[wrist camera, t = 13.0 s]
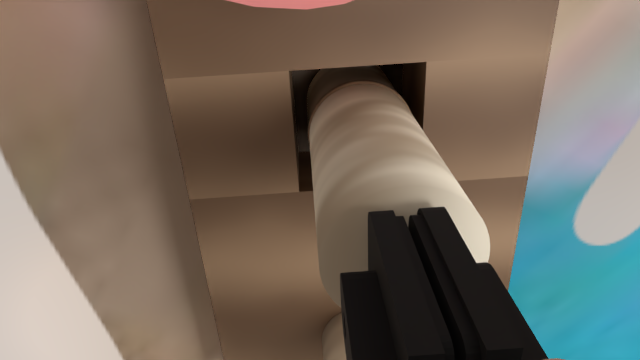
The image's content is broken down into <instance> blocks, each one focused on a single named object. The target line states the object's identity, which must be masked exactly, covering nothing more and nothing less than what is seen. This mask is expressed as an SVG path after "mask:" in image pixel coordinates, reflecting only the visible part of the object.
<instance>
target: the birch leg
mask: <svg viewBox="0 0 640 360" xmlns="http://www.w3.org/2000/svg"><path fill="white" fill-rule="evenodd" d="M307 114H308V142H309V147H310V155H311V168H312V181H313V195H314V208H315V222H316V235H317V248H318V262H319V271H320V277H321V280H322V283H323V286H324V288H325V290H326V292H327V293H328V295H329V296H330V297H331V299H332V300H333V301H334V302H335V303H336V304H337V305H338V306H339V307H341V294H340V273H345V272H359V271H368V212H373V211H387V210H393V211H394V213H395V215H396V216H404V218H405V221H406V223H407V226H408V225H409V216H410V215H417V211H418V209H419V208H429V207H445V208H446V210H447V211H448V213H449V215H450V217H451V218H452V220H453V222H454V224H455V226H456V227H457V229H458V231H459V233H460V235H461V236H462V238H463V240H464V242H465V244H466V245H467V247H468V249H469V251H470V252H471V254H472V256H473V258H474V260H475V261H476V263H483V262H487V263H488V260H489V256H490V238H489V234H488V230H487V227H486V225H485V223H484V221H483V219H482V217H481V216H480V215H479V213H478V212H477V210H476V209H475V207H474V206H473V204H472V203H471V201H470V200H469V198H468V197H467V195H466V194H465V192H464V191H463V189H462V188H461V186H460V185H459V183H458V182H457V180H456V179H455V177H454V176H453V174H452V173H451V171H450V170H449V168H448V167H447V166H446V164H445V163H444V161H443V160H442V158H441V157H440V155H439V154H438V152H437V151H436V149H435V148H434V146H433V145H432V143H431V142H430V140H429V139H428V137H427V136H426V134H425V133H424V131H423V130H422V128H421V127H420V125H419V124H418V122H417V121H416V119H415V118H414V117H413V115H412V113H411V111H410V109H409V107H408V105H407V104H406V102H405V101H404V99H403V98H402V97H401V96H400V95H399V93H398V92H397V91H396V90H395V88H394V87H393V85H392V84H391V82H390V81H389V79H388V78H387V76H386V75H385V74H384V72H383V71H382V70H381V69H380V68H379V67H378V66H376V65H371V66H355V67H340V68H325V69H321V70H320V71H319V72H318V73H317V74H316V75H315V77H314V78H313V80H312V82H311V84H310V86H309V89H308V93H307Z"/></svg>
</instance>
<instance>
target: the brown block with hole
mask: <svg viewBox="0 0 640 360" xmlns="http://www.w3.org/2000/svg"><path fill="white" fill-rule="evenodd" d="M146 1H147V6H148V11H149V15H150V20H151V24H152V29H153V34H154V38H155V43H156V48H157V52H158V57H159V61H160V66H161V71H162V75H163V80H164V85H165V89H166V94H167V98H168V103H169V108H170V112H171V117H172V122H173V126H174V131H175V135H176V140H177V145H178V149H179V154H180V159H181V163H182V168H183V172H184V177H185V182H186V186H187V191H188V196H189V200H190V205H191V210H192V214H193V219H194V223H195V228H196V233H197V237H198V242H199V247H200V251H201V256H202V260H203V265H204V270H205V274H206V279H207V284H208V288H209V293H210V297H211V302H212V307H213V311H214V316H215V321H216V325H217V330H218V334H219V339H220V344H221V348H222V353H223V358H224V360H346V352H345V343H344V335H343V324H342V312H341V307H339V306H338V305H337V304H336V303H335V302H334V301H333V300H332V299H331V297H330V296H329V295H328V293H327V292H326V290H325V288H324V286H323V283H322V280H321V277H320V271H319V262H318V248H317V235H316V222H315V208H314V195H313V181H312V168H311V155H310V151H308V152H299V150H298V138H297V126H296V114H295V102H294V90H293V78H292V71H295V70H310V69H325V68H340V67H355V66H371V65H386V64H401V63H403V80H402V98H403V99H404V101H405V102H406V104H407V105H408V107H409V109H410V111H411V113H412V115H413V117H414V118H415V119H416V121H417V122H418V124H419V125H420V127H421V128H422V130H423V131H424V133H425V134H426V136H427V137H428V139H429V140H430V142H431V143H432V145H433V146H434V148H435V149H436V151H437V152H438V154H439V155H440V157H441V158H442V160H443V161H444V163H445V164H446V166H447V167H448V168H449V170H450V171H451V173H452V174H453V176H454V177H455V179H456V180H457V182H458V183H459V185H460V186H461V188H462V189H463V191H464V192H465V194H466V195H467V197H468V198H469V200H470V201H471V203H472V204H473V206H474V207H475V209H476V210H477V212H478V213H479V215H480V216H481V217H482V219H483V221H484V223H485V225H486V227H487V230H488V234H489V238H490V256H489V260H488V263H489V264H491V265H492V267H493V268H494V269H495V271H496V273H497V274H498V276H499V278H500V279H501V281H502V283H503V284H504V286H505V288H506V289H507V291H508V287H509V282H510V276H511V270H512V265H513V259H514V253H515V248H516V242H517V236H518V231H519V225H520V219H521V214H522V208H523V202H524V197H525V191H526V185H527V180H528V174H529V168H530V163H531V157H532V151H533V146H534V140H535V134H536V129H537V123H538V118H539V112H540V106H541V101H542V95H543V89H544V84H545V78H546V72H547V67H548V61H549V55H550V50H551V44H552V38H553V33H554V27H555V21H556V16H557V10H558V4H559V0H353V1H351V2H348V3H346V4H341V5H334V6H327V7H320V8H314V9H307V10H306V9H286V8H267V7H253V6H249V5H244V4H240V3H235V2H231V1H227V0H146Z"/></svg>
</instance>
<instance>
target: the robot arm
mask: <svg viewBox="0 0 640 360" xmlns="http://www.w3.org/2000/svg"><path fill="white" fill-rule="evenodd" d="M340 294H341V312H342V324H343V335H344V343H345V352H346V360H564V359H558V358H555V359H548V357H547V356H546V354H545V352H544V351H543V349H542V347H541V346H540V344H539V342H538V341H537V339H536V337H535V336H534V334H533V332H532V331H531V329H530V327H529V326H528V324H527V322H526V321H525V319H524V317H523V316H522V314H521V312H520V311H519V309H518V307H517V306H516V304H515V303H514V301H513V299H512V298H511V296H510V294H509V293H508V291H507V289H506V288H505V286H504V284H503V283H502V281H501V279H500V278H499V276H498V274H497V273H496V271H495V269H494V268H493V267H492V265H491V264H489V263H487V262H483V263H476V261H475V260H474V258H473V256H472V254H471V252H470V251H469V249H468V247H467V245H466V244H465V242H464V240H463V238H462V236H461V235H460V233H459V231H458V229H457V227H456V226H455V224H454V222H453V220H452V218H451V217H450V215H449V213H448V211H447V210H446V208H445V207H429V208H419V209H418V211H417V215H410V216H409V225H408V226H407V223H406V221H405V218H404V216H396V215H395V213H394V211H393V210H387V211H373V212H368V271H359V272H345V273H340Z"/></svg>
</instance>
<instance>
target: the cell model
mask: <svg viewBox="0 0 640 360" xmlns="http://www.w3.org/2000/svg"><path fill="white" fill-rule="evenodd" d="M227 1H231V2H235V3H240V4H244V5H249V6H253V7H267V8H286V9H306V10H307V9H314V8H320V7H327V6H334V5H341V4H346V3H348V2H351V1H353V0H227Z"/></svg>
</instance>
